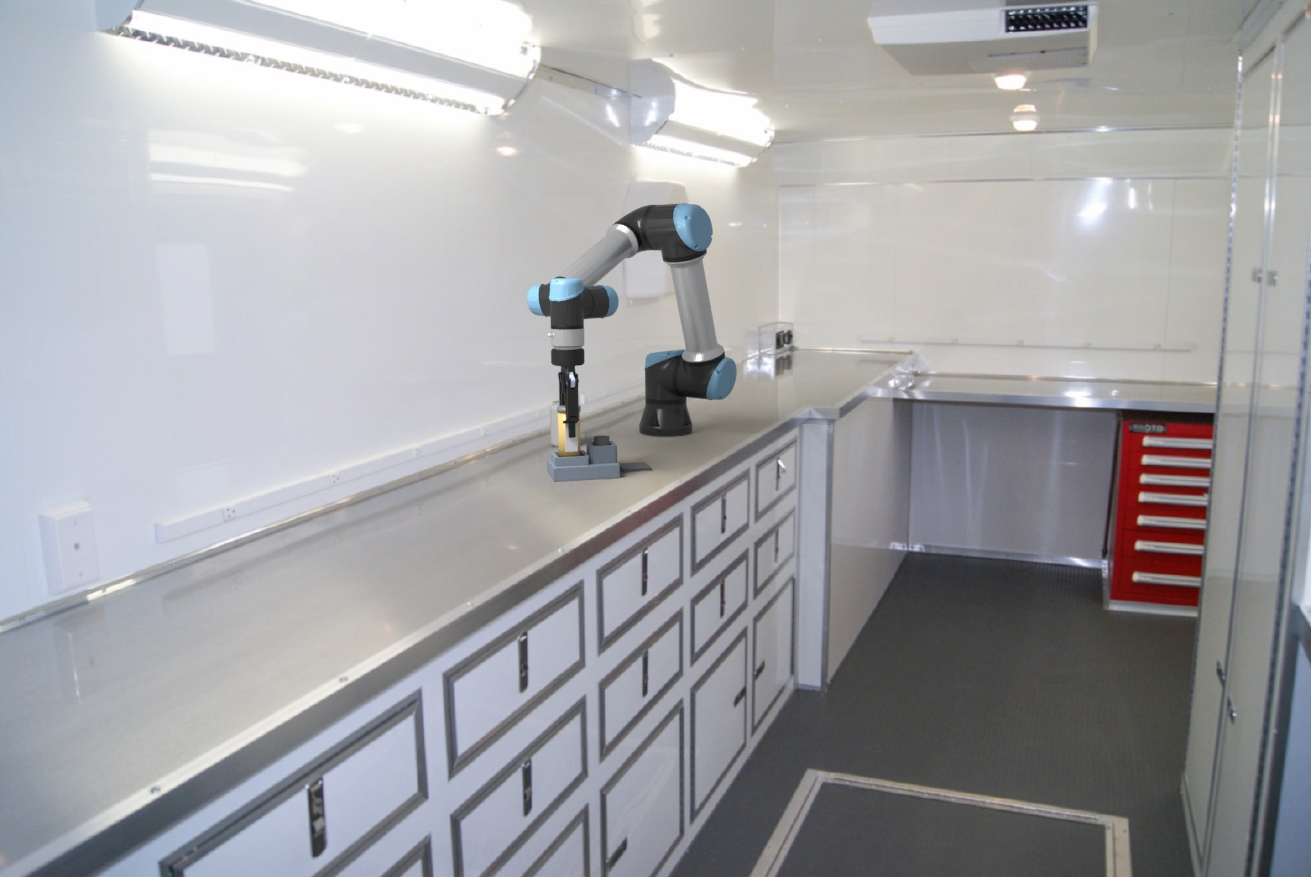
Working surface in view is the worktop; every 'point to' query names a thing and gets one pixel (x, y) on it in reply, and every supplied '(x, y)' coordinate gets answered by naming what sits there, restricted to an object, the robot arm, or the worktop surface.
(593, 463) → the housing
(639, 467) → the mat
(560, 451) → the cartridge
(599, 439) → the plunger
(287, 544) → the worktop surface
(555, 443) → the can
